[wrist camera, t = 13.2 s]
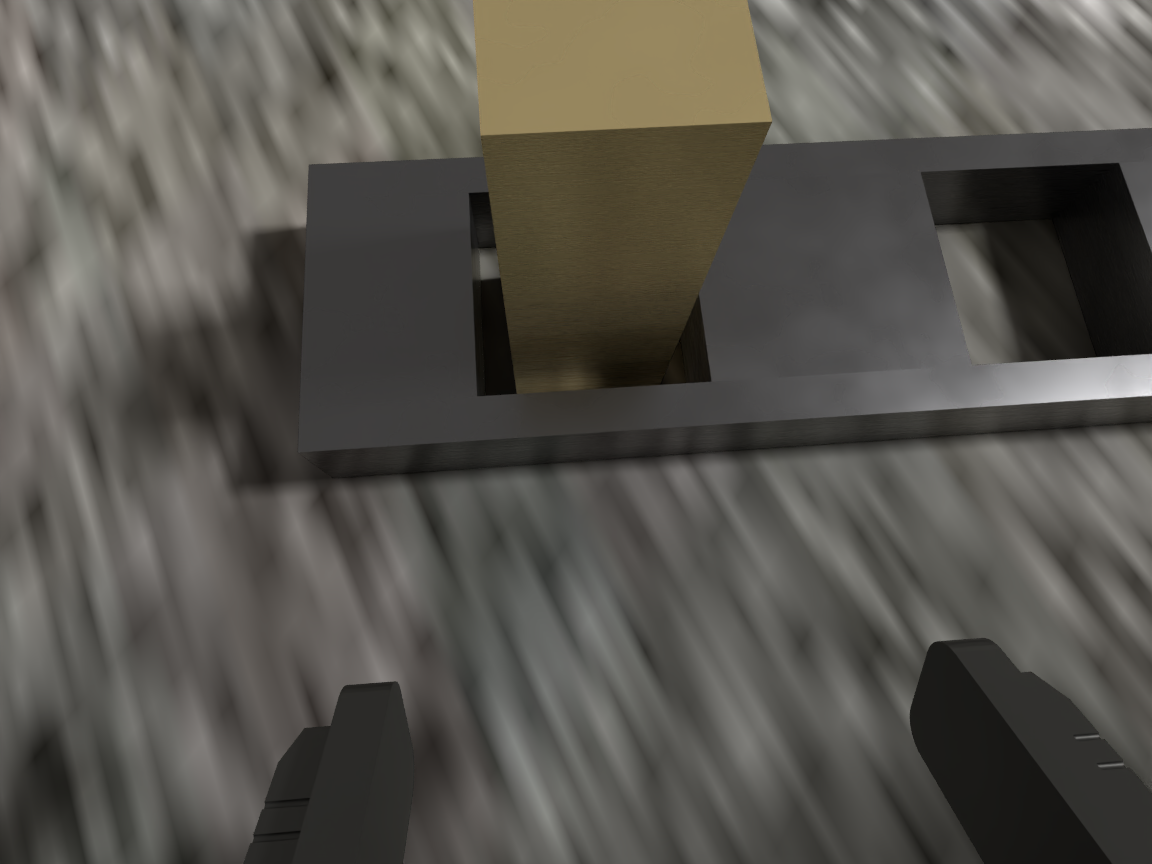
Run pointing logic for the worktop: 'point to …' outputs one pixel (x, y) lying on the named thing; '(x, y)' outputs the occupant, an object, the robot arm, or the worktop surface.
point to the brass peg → (611, 173)
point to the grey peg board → (731, 309)
